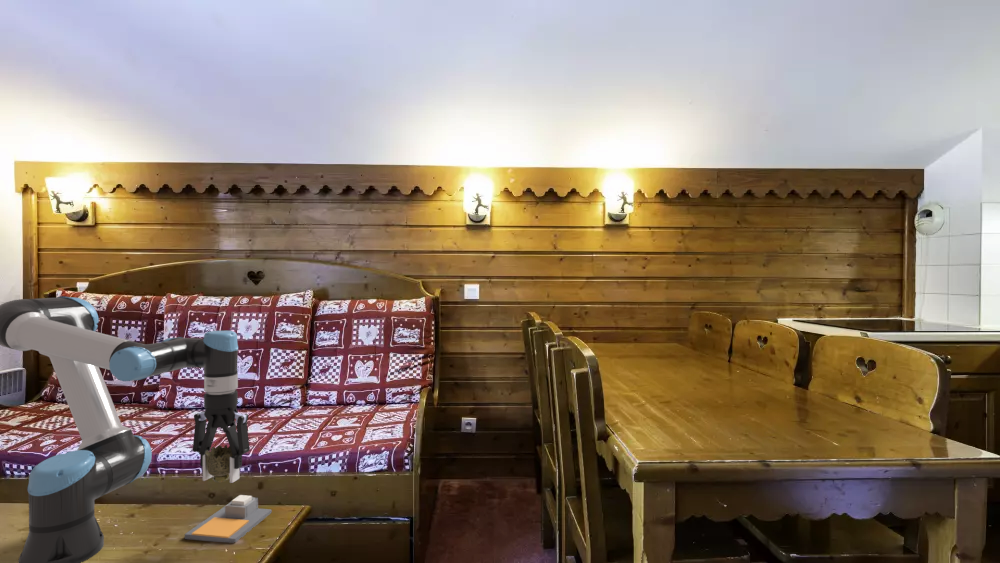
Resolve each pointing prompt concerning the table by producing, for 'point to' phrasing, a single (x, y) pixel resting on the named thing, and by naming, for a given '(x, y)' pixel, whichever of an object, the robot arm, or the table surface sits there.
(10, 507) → the table surface
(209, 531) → the plate
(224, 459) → the cup
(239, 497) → the button
